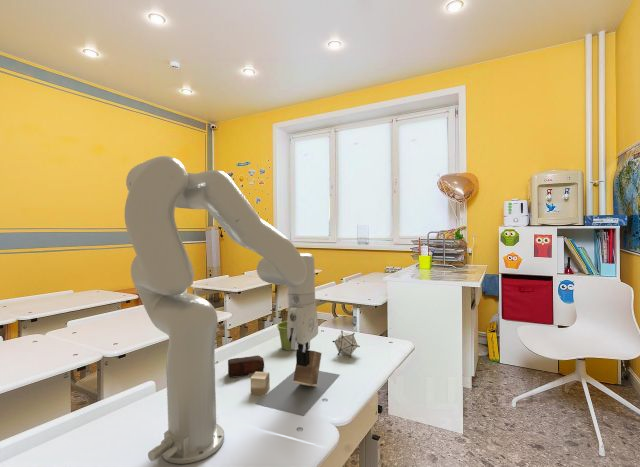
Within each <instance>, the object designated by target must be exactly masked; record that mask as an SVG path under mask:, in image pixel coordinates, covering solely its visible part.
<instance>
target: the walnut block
mask: <svg viewBox="0 0 640 467" xmlns="http://www.w3.org/2000/svg"><path fill="white" fill-rule="evenodd" d="M322 353H323V352H319V351H315V350H312V349H311V350H310V349H309V365H307V366H306V367H305V366H299V365H297V364H295V369H294V371H295V374H294V379H293V383H297V384H302V385H307V386H317V380H318V373H319V371H320V367H321V366H320V365H321V360H322Z"/></svg>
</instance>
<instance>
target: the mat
mask: <svg viewBox="0 0 640 467" xmlns="http://www.w3.org/2000/svg"><path fill="white" fill-rule="evenodd" d="M294 374H295V370H294V371H293V372H291V374H289V375H288V376H287V377H285V379H283V380H282V381H281V382H280V383H279V384H278V385H276V386H275V387H273V388H272V389H271V390H269V391H268V392H267V393H266V395H265V396H263V397H262V398H260V399H259V400H258V401H257V402H256V403H255V405H257V406H261V407H266V408H270V409H273V410H274V409H275V410H278V411H283V412H286V413H290V414H294V415H298V416H302V417H304V416H306V414H307V413H308V412H309V411H310V410H311V409H312V408H313V407H314V405H315V404H316V403H317V402H318V401H319V400H320V399H321V398H322V396H323V395H324V394H325V393H326V392H327V390H328V389H329V388H330V387H331V386H332V385H333V384H334V383H335V381H336V380H337V379H338V378H339V377H340V376H341V374H339V373H334V372H333V373H332V372H328V371H322V370H319V373H318V380H317V386H307V385H302V384H297V383H293V379H294Z"/></svg>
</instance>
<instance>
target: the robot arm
mask: <svg viewBox="0 0 640 467" xmlns="http://www.w3.org/2000/svg"><path fill="white" fill-rule="evenodd" d="M125 182H126V183H125V185H126V188H127V192H128V194H127V197H126V199H125V205H124V222H125V226H126V231H127V234H128V237H129V240H130V242H131V245H132V247H133V251H134V252H135V257H134V258H133V260H132V263H131V265H130V276H131V277H130V278H131V280H132V283H133V285H134V288H135V290H136V293H137V294H138V297H139V299H140V300H141V303H142V306H143V308H144V310H145V312H146V314H147V316H148V318H149V320H150V321H151V323H152V324H153V326H154V327H155V328H157V329H158V330H159V331H160V332H162V333H164V334H166V335H167V336H168V339H169V341H168V348H167V353H166V364H165V365H166V366H165V370H166V372H165V373H166V374H165V375H166V393H167V394H166V396H167V399H166V400H167V423H168V424H167V426H168V427H167V428H168V429H167V430H166V431H164V433H163V437H164V438H163V440H161V441H160V444H159V445H156V446H155V447H154V448H152V449H151V450H149V451H148V453H147V458H148V459H149V461H151V462H154V461H156V460H157V459H158V458H160V457H162V458H163V459H164V460H165V461H166V462H169V463H172V464H176V465H177V464H178V465H184V464H192V463H196V462H200V461H202V460H204V459H206V458H208V457H210V456H211V455H213V454H214V453H216V452H217V451H218V450H219V449H220V448H221V446H222V445H223V443H224V441H225V430H224V428H223V427H222V426H221V425H219V424H217V402H216V401H217V398H216V393H217V392H216V364H215V363H216V362H215V360H216V359H215V358H216V357H215V352H216V351H215V348H216V347H215V346H216V337H217V331H218V323H219V321H218V319H219V318H218V315H217V314H218V313H217V311H216V309H215V306H214V305H212V303H211V302H210V301H208V300H206V298H203V297H201V296H199V295H195V294H192V293H190V292H189V293H188V290H189V289H190V287H191V286H192V284H193V282H194V278H195V273H194V272H195V271H194V268H193V264H192V262H191V259H190V256H189V254H188V252H187V250H186V247H185V245H184V243H183V240H182V238H181V235H180V232H179V230H178V227H177V223H176V218H175V210H176V208H178V209H187V210H188V209H189V210H207V212H208V213H209V214H210V216H211V217H213V219H214V220H215V221H216V223H217V224H218V225H219V226H220V228H221V229H222V230H223V231H224V232H225V233H226V235H227V236H228V237H229V239H230V240H231V241H233V242H234V243H235V244H238V245H239V246H241V247H243V248H245V249H248V250H250V251H252V252H253V253H256V254H257V255H260V256H261V257H262V258H261V259H260V260H259V261H258V262H257V266H256V273H257V276H258V278H259V279H260V280H262V282H265V283H268V284H272V285H278V286H283V287H287V289H286V290H287V291H286V292H287V306H288V309H287V320H286V321H287V337H288V342H289V343H291V349H292V350H294V351H295V355H296V356H295V360H296V362H295V363H296V364H297V365H299V366H305V367H306V366H307V365H309V350H310V349H311V340H313V339H314V338H315V337H317V335H318V334H319V321H318V312H317V304H316V284H315V283H316V282H315V281H316V280H315V276H316V274H315V271H316V269H315V258H314V255H313V254H311V253H309V252H299V251H298V248H296V246H295V245H294V243H292V241H291V240H289V238H287V237H286V236H285V235H284V234H283V233H281V232H280V231H279V230H278V229H276V228H275V227H274V226H272V225H271V224H269V223H268V222H266V221H265V220H264V219H263V218H262V217H260V215H259V213H258V212H257V211H256V210H255V209H254V207H253V206H252V204H251V203H250V202H249V200H248V199H247V197H246V196H245V194H243V192H242V191H241V190H240V188H239V187H238V186H237V185H236V183H235V182H234V180H233V179H232V178H231V176H230V175H229V174H227V173H226V172H224V171H222V170H218V169H211V170H205V171H201V172H198V173H194V172H193V173H192V172H187V170H186V168H185V166H184V164H183V163H182V162H181V161H180V160H179V159H177V158H175V157H174V156H173V157H171V156H167V155H162V156H156V157H153V158H151V159H150V158H149V159H147V160H146V161H143V162H142V163H139V164H137V165H135V166H133V167H132V168H131V169H130V170H129V171H128V173H127V175H126V179H125ZM296 364H295V365H296Z"/></svg>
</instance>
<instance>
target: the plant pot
mask: <svg viewBox="0 0 640 467" xmlns="http://www.w3.org/2000/svg"><path fill="white" fill-rule="evenodd" d="M276 328H277V330H278V333H279V339H280V346H281V349H283V350H286V351H292V350H293V349H291V343H289V342H288V337H287V320H286V321H285V320H284V321H281V322H278V323H276Z"/></svg>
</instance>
